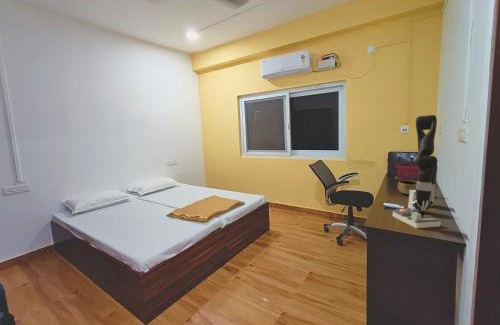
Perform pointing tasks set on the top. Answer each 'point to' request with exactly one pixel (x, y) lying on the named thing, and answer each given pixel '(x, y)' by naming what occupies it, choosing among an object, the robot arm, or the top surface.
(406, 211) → the terracotta button
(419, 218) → the sage slider
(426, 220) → the panel
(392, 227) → the top surface
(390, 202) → the top surface
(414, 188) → the tan woven basket
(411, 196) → the skincare box
